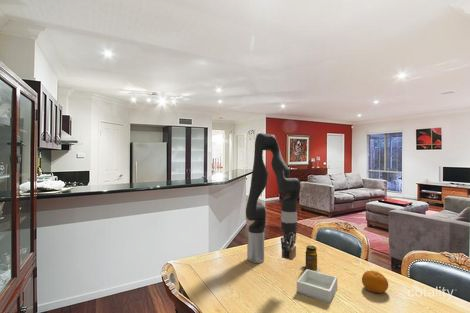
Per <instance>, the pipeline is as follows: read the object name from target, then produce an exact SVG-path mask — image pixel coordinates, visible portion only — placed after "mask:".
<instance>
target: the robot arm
mask: <svg viewBox="0 0 470 313" xmlns="http://www.w3.org/2000/svg"><path fill="white" fill-rule="evenodd" d="M264 151H270V152H271V153H272V158H271V164H270V165H271V167H272V170H273V173H274V175H275V176H276V182H277V188H278V191H279V192H280V193H282V194H288V196H286V197H283V198H281V212H280V230H281V231H282V232H283V236H282V237H280V246H281V251H282V250H284V258H283V259H285V258H289V246H290V245H293V246H295V244H296V238H297V230H298V212H297V211H298V210H297V209H298V204H297V203H298V200H299V196H300V192H301V188H302V187H301V186H302V185H301V182H300V180H299V178H296V177H289V176H290V174H291V172H290V168H288V165H287V164H286V161H285V160H284V157H283V155H282V152H281V148H280V146H279V143H278V140H277V138H276V136H275V134H271V133H258V134H257V135H256V137H255V140H254V153H253V154H254V157H253V165H252V172H251V180H250V188H249V193H248V198H247V202H246V206H245V207H246V208H245V217H246V219H247V220H248V221H252V223H251V224H250V225H249V226H248V242H247V243H246V244H247V246H246V247H247V248H246V249H247V250H246V254H247V255H246V256H247V261H249V262H250V263H254V264H260V263H264V262H265V228H266V223H267V222H266V219H267V218H266V217H267V216H266V214H267V211H266V207H265V205H264V204H263V203H258V201H259V197H260V196H261V195H262V193H263V192H264V190H265V189H266V187H267V184H268V177H269V172H268V171H269V170H268V169H267V166H266V164H265V161H264V159H263V158H264V157H263V154H264ZM287 245H288V247H287Z"/></svg>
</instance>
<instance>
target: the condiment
mask: <svg viewBox="0 0 470 313" xmlns="http://www.w3.org/2000/svg"><path fill="white" fill-rule="evenodd" d="M305 248H306V250H305V266H304V265H303V266H302V267H299V269H300V270H302V271H304V272H305V271H306V269H308V270H312V271H316V272H320V270H321V268H318V252H317V247H316V246H314V245H306V247H305Z"/></svg>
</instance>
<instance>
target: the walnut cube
mask: <svg viewBox="0 0 470 313" xmlns="http://www.w3.org/2000/svg"><path fill="white" fill-rule="evenodd" d="M287 247H288V245H287ZM296 257H297V246H296V245H294V246H293V245H290V246H289V258H284V250H282V249H281V259H286V260H289V261H293V260H294V259H295V258H296Z"/></svg>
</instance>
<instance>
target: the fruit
mask: <svg viewBox="0 0 470 313" xmlns="http://www.w3.org/2000/svg"><path fill="white" fill-rule="evenodd" d="M361 277H362V278H361V283H362V285H363V287H364V288H365V289H366V290H368V291H369V292H372V293H377V294H378V293H379V294H382V293H384V292H386V291H387V290H388V288H389V281H388V279H387V277H386V276H385V275H383V274H382V273H381V272H379V271H376V270H366V271H365V272H364V273H363V274H362V276H361Z"/></svg>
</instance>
